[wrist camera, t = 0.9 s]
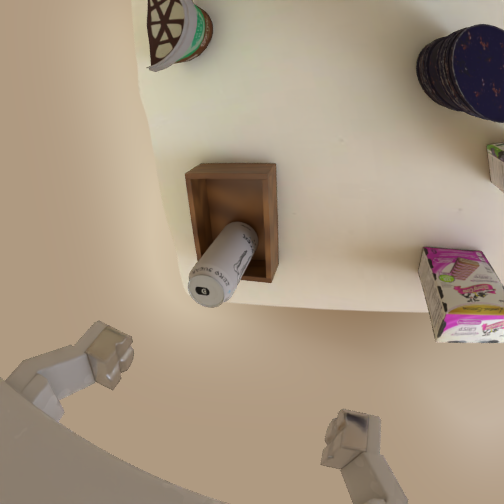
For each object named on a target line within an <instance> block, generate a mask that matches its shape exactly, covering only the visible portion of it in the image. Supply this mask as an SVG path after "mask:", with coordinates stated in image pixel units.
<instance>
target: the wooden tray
mask: <svg viewBox="0 0 504 504" xmlns="http://www.w3.org/2000/svg"><path fill="white" fill-rule="evenodd" d="M185 179H186V186H187V193H188V200H189V207H190V214H191V221H192V228H193V235H194V241H195V247H196V254H197V260H198V261H199V260H200V258H201V257H202V256H203V254H204V253H205V252H206V251H207V249H208V248H209V247H210V245H211V244H212V243H213V242H214V240H215V239H216V238H217V236H218V235H219V234H220V233H221V231H222V230H223V229H224V228H225V226H226V225H228V224H230V223H232V222H242V223H245V224H247V225H249V226H250V227H252V228H253V229H254V231H255V232H256V234H257V236H258V247H257V249H256V251H255V253H254V255H253V257H252V258H251V260H250V262H249V264H248V266H247V268H246V270H245V272H244V274H243V276H242V277H241V279H240V280H247V281H257V282H266V283H272V280H273V278H274V275H275V272H276V270H277V267H278V264H279V257H278V214H277V181H276V164H270V163H208V164H199V165H198V166H196V167H195V168H193V169H191V170H190V171H188V172H187V173H185Z"/></svg>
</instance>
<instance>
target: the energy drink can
mask: <svg viewBox="0 0 504 504" xmlns="http://www.w3.org/2000/svg"><path fill="white" fill-rule="evenodd" d="M257 247H258V236H257V234H256V232H255V231H254V229H253V228H252V227H250V226H249V225H247V224H245V223H242V222H232V223H230V224H228V225H226V226H225V228H224V229H223V230H222V231H221V233H220V234H219V235H218V236H217V238H216V239H215V240H214V242H213V243H212V244H211V245H210V247H209V248H208V249H207V251H206V252H205V253H204V254H203V256H202V257H201V258H200V260H199V261H198V262H197V263H196V265H195V266H194V267H193V269H192V270H191V272H190V274H189V283H188V291H189V294H190V296H191V297H192V298H193V299H194V300H195V301H196V302H197V303H198V304H201V305H202V306H205V307H211V308H213V307H217V306H219V305H221V304H222V303H223V302H226V301H227V300H229V299H230V298H231V296H232V295H233V293H234V291H235V289H236V287H237V285H238V283H239V281H240V279H241V277H242V276H243V274H244V272H245V270H246V268H247V266H248V264H249V262H250V260H251V258H252V257H253V255H254V253H255V251H256V249H257Z"/></svg>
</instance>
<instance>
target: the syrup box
mask: <svg viewBox="0 0 504 504" xmlns="http://www.w3.org/2000/svg"><path fill="white" fill-rule="evenodd" d="M487 152H488V160H489V168H490V176H491V182H492V183H493V184H494V185H495V186H497V187H498V188H499V189H500V190H501V191H502V192H503V193H504V143H498V144H492V145H487Z"/></svg>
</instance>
